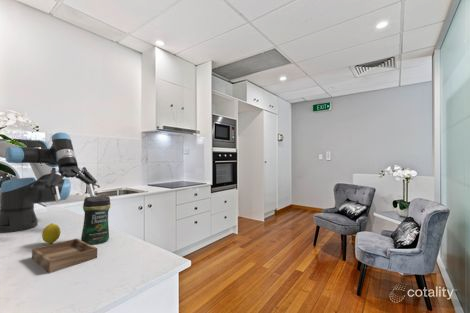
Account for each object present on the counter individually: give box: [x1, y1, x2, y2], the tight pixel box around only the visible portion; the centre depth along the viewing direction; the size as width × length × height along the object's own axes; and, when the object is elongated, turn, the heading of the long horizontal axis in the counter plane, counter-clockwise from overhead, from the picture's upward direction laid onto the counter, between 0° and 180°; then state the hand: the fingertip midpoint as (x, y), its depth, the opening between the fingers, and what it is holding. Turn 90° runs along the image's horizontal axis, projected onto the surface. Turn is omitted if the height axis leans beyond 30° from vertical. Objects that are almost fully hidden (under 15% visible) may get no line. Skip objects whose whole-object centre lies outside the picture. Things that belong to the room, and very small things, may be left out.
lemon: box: [41, 223, 61, 245], centre depth 88 cm, size 6×6×8 cm
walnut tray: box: [31, 238, 98, 274], centre depth 75 cm, size 16×13×3 cm
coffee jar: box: [80, 195, 111, 246], centre depth 91 cm, size 10×8×19 cm
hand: (76, 198), depth 102 cm, fingers open, 13 cm apart
